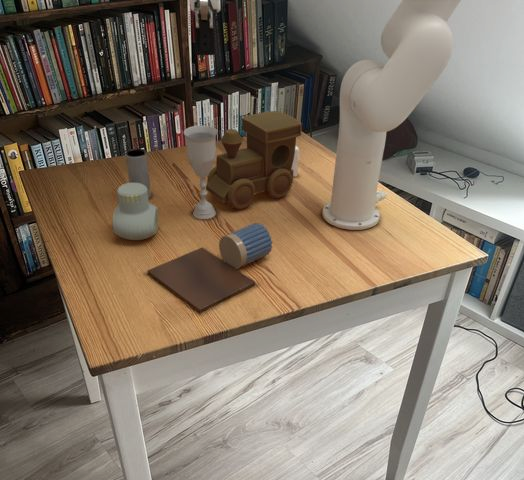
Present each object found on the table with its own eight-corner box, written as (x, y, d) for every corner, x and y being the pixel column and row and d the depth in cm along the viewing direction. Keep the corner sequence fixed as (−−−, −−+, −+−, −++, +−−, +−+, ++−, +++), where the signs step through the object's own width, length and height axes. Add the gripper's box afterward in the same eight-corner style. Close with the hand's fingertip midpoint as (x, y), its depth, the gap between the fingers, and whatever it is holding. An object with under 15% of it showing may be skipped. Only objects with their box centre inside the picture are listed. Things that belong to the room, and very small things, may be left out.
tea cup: (248, 244, 115) (251, 216, 110) (270, 261, 112) (274, 233, 107) (218, 258, 110) (219, 229, 106) (239, 275, 107) (242, 247, 103)
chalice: (214, 223, 122) (212, 140, 110) (184, 219, 123) (178, 136, 111) (223, 207, 127) (221, 127, 115) (194, 204, 128) (189, 123, 116)
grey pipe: (153, 198, 129) (148, 155, 123) (133, 201, 128) (127, 157, 121) (148, 190, 133) (143, 147, 126) (129, 193, 131) (123, 149, 124)
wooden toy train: (272, 177, 140) (275, 107, 129) (300, 194, 133) (305, 123, 122) (202, 195, 131) (198, 123, 120) (227, 215, 124) (226, 140, 113)
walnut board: (202, 250, 113) (202, 247, 113) (255, 285, 104) (255, 281, 104) (147, 274, 106) (147, 270, 106) (199, 313, 98) (199, 309, 97)
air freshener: (122, 220, 122) (115, 176, 115) (160, 220, 122) (156, 176, 115) (113, 246, 113) (105, 200, 107) (154, 247, 114) (149, 201, 107)
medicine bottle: (262, 168, 144) (263, 120, 136) (288, 165, 145) (291, 117, 138) (270, 179, 139) (272, 130, 131) (297, 176, 140) (301, 128, 132)
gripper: (227, -70, 80) (229, 60, 92) (221, -81, 93) (223, 35, 105) (174, -71, 80) (182, 60, 91) (175, -82, 93) (182, 35, 104)
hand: (204, 47), depth 98 cm, fingers open, 9 cm apart
